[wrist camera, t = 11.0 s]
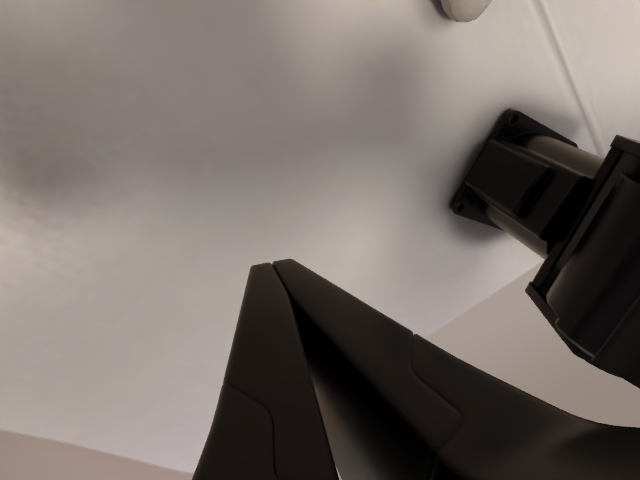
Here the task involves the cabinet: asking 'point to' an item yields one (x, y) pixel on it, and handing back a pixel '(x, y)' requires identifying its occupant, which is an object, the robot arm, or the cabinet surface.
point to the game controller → (464, 9)
